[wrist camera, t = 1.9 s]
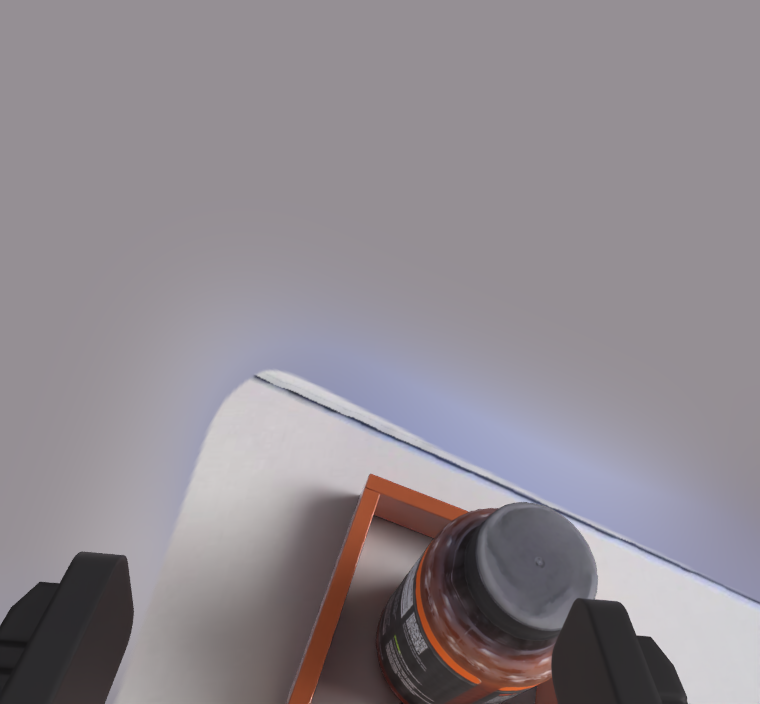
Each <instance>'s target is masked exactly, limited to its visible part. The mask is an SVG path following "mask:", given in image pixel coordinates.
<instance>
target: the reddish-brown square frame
mask: <svg viewBox="0 0 760 704" xmlns="http://www.w3.org/2000/svg"><path fill="white" fill-rule="evenodd" d="M466 513H468V511H466V510H463V509H461V508H458V507H455V506H453V505H450V504H448V503H445V502H442V501H440V500H437V499H435V498H432V497H430V496H427V495H424V494H422V493H419V492H417V491H414V490H411V489H409V488H406V487H404V486H401V485H399V484H396V483H393V482H391V481H388V480H386V479H383V478H381V477H378V476H375V475H373V474H369V476H368V479H367V481H366V483H365V485H364V487H363V490H362V492H361V494H360V497H359V499H358V502H357V505H356V508H355V511H354V513H353V516H352V519H351V522H350V525H349V527H348V530H347V533H346V536H345V539H344V541H343V544H342V547H341V550H340V553H339V555H338V558H337V561H336V564H335V567H334V569H333V572H332V575H331V578H330V581H329V583H328V586H327V589H326V592H325V595H324V597H323V600H322V603H321V606H320V609H319V611H318V614H317V617H316V620H315V623H314V625H313V628H312V631H311V634H310V637H309V639H308V642H307V645H306V648H305V651H304V653H303V656H302V659H301V662H300V665H299V667H298V670H297V673H296V676H295V679H294V681H293V684H292V687H291V690H290V693H289V695H288V698H287V701H286V704H311V701H312V698H313V695H314V692H315V689H316V686H317V683H318V680H319V677H320V674H321V671H322V668H323V665H324V662H325V659H326V656H327V653H328V650H329V647H330V644H331V641H332V638H333V635H334V632H335V629H336V626H337V623H338V620H339V617H340V614H341V611H342V608H343V605H344V602H345V599H346V596H347V593H348V590H349V587H350V584H351V581H352V578H353V575H354V572H355V569H356V566H357V563H358V560H359V557H360V554H361V551H362V548H363V545H364V542H365V539H366V536H367V533H368V530H369V527H370V524H371V521H372V518H373V515H375V516H378V517H380V518H383V519H385V520H388V521H391V522H393V523H396V524H398V525H401V526H403V527H406V528H409V529H411V530H414V531H416V532H419V533H421V534H424V535H427V536H429V537H432V538H435V536H436V535H437V534H438V533H439V532H440V531H441V530H442V529H443V527H444V526H446V525H447V524H449V523H450V522H451V521H452V520H454V519H456V518H457V517H459V516H461V515H463V514H466ZM535 704H558V702H557V698H556V694H555V690H554V685H553V680H552V678H550V679H548V680H547V681H545V682H543V683H541V684H538V685H537V690H536V698H535Z"/></svg>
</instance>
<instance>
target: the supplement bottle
mask: <svg viewBox="0 0 760 704" xmlns="http://www.w3.org/2000/svg"><path fill="white" fill-rule="evenodd" d="M597 585H598V576H597V568H596V563H595V560H594V557H593V555H592V552H591V550H590V547H589V545H588V544H587V542H586V541H585V539H584V537H583V536H582V535H581V533H580V532H579V531H578V529H577V528H576V527H575V526H574V525H573V524H572V523H571V522H569V521H568V520H567V519H566V518H565V517H563V516H562V515H561V514H559V513H557V512H556V511H554V510H552V509H550V508H548V507H545V506H542V505H539V504H534V503H527V502H519V503H512V504H508V505H505V506H503V507H501V508H499V509H498V508H496V509H494V508H488V509H478V510H476V511H471V512H468V513H466V514H463V515H461V516H459V517H457V518H456V519H454V520H452V521H451V522H450V523H449V524H447V525H446V526H444V527H443V529H442V530H441V531H440V532H439V533H438V534H437V535H436V536H435V538H434V539H433V540H432V542H431V543H430V544H429V546H428V547H427V548H426V550H425V551H424V552H423V554H422V555H421V557H420V558H419V559H418V561H417V562H416V563H415V565H414V566H413V567H412V569H411V570H410V571H409V573H408V574H407V575H406V577H405V578H404V579H403V581H402V582H401V584H400V585H399V586H398V588H397V589H396V590H395V591H394V593H393V594H392V595H391V597H390V599H389V601H388V602H387V604H386V606H385V608H384V609H383V611H382V614H381V617H380V620H379V624H378V629H377V637H376V647H377V653H378V659H379V664H380V667H381V670H382V672H383V675H384V677H385V679H386V681H387V683H388V684H389V686H390V688H391V689H392V691H393V692H394V693H395V694H396V696H397V697H398V698H399V699H400V700H401V701H402V702H403V703H404V704H499V703H501V702H503V701H505V700H507V699H509V698H512V697H514V696H516V695H518V694H520V693H522V692H525V691H527V690H529V689H531V688H533V687H534V686H536V685H538V684H541V683H543V682H545V681H547V680H548V679H550V678H552V671H551V660H552V652H553V648H554V645H555V643H556V640H557V638H558V636H559V634H560V631H561V629H562V627H563V625H564V622H565V620H566V618H567V616H568V613H569V611H570V609H571V607H572V604H573V602H574V601H575V600H576V599H577V598H584V599H595V596H596V593H597Z"/></svg>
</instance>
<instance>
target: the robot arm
mask: <svg viewBox="0 0 760 704" xmlns="http://www.w3.org/2000/svg"><path fill="white" fill-rule="evenodd" d="M133 609H134V608H133V601H132V592H131V584H130V576H129V569H128V561H127V558H126V556H124V555H114V554H102V553H91V552H80V553H78V554H77V555H76V556H75V557H74V559H73V560H72V562H71V564H70V566H69V567H68V569H67V571H66V573H65V575H64V576H63V578H62V580H61V582H60V584H59V583H47V582H39V583H38V584H37V585H36V586H35V587H34V588H33V589H31V590H30V591H29V592H28V593H27V594H26V595H25V596H24V597H22V598H21V599H20V600H19V601H18V602H17V603H16V604H15V605H13V606H12V607H11V609H10V610H9V612H8V614H7V615H6V617H5V619H4V620H3V622H2V624H1V625H0V704H105V701H106V699H107V696H108V693H109V691H110V688H111V686H112V684H113V681H114V678H115V676H116V673H117V671H118V668H119V665H120V663H121V660H122V658H123V655H124V653H125V650H126V647H127V645H128V641H129V638H130V634H131V629H132V624H133V615H134V610H133ZM551 671H552V680H553V685H554V690H555V694H556V698H557V702H558V704H688V703H687V696H686V693H685V691H684V689H683V686H682V684H681V682H680V679H679V677H678V675H677V672H676V670H675V667H674V665H673V664H672V663H671V662H670V660H669V659H668V658H667V657H666V655H665V654H664V653H663V652H662V650H661V649H660V648H659V647H658V645H657V644H656V643H655V642H654V640H653V639H652V638H651V637H647V636H636V634H635V631H634V628H633V626H632V623H631V621H630V618H629V615H628V613H627V611H626V609H625V607H624V606H623V605H622V604H621V603H620V602H617V601H606V600H595V599H584V598H577V599H576V600H575V601H574V602H573V604H572V607H571V609H570V611H569V613H568V616H567V618H566V620H565V622H564V625H563V627H562V629H561V631H560V634H559V636H558V638H557V640H556V643H555V645H554V648H553V652H552V660H551Z"/></svg>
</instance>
